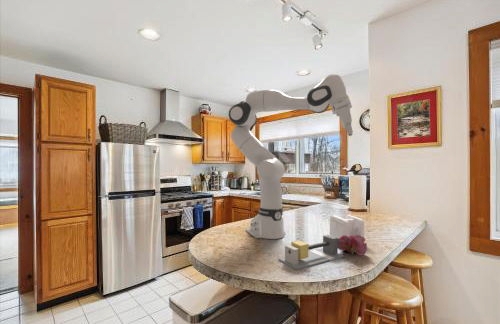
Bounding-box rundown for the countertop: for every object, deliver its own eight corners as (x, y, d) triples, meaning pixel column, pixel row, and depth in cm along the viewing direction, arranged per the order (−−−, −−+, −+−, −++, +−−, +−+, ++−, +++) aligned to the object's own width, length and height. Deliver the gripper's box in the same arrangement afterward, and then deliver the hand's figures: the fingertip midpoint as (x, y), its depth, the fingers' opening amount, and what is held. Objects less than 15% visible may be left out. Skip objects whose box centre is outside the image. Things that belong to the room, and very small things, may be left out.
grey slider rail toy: (278, 260, 92) (278, 241, 92) (323, 249, 105) (324, 233, 105) (296, 270, 83) (297, 249, 83) (343, 256, 96) (343, 239, 96)
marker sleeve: (291, 255, 92) (291, 241, 92) (298, 253, 94) (299, 240, 94) (300, 259, 87) (300, 245, 88) (308, 257, 90) (308, 244, 90)
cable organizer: (365, 245, 111) (366, 220, 111) (345, 246, 109) (345, 221, 109) (346, 236, 126) (347, 214, 126) (328, 237, 124) (328, 214, 124)
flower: (339, 257, 105) (348, 236, 109) (362, 266, 98) (370, 244, 101) (329, 246, 99) (338, 224, 102) (352, 255, 91) (361, 232, 95)
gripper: (335, 113, 125) (344, 139, 123) (333, 104, 106) (343, 134, 104) (348, 109, 123) (357, 134, 121) (348, 99, 104) (359, 129, 102)
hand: (350, 134), depth 113 cm, fingers open, 8 cm apart
